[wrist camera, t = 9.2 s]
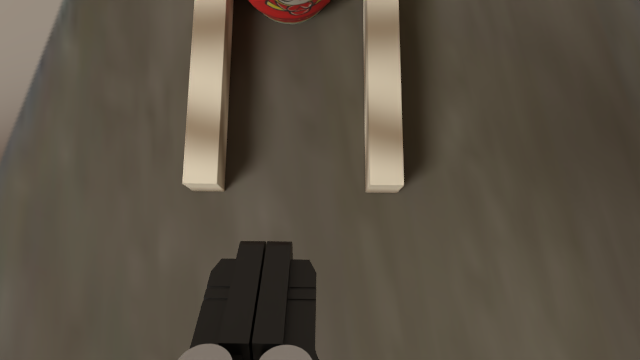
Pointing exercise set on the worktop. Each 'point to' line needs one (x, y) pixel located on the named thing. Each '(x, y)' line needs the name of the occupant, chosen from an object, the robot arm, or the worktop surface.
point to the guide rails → (213, 96)
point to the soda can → (289, 9)
